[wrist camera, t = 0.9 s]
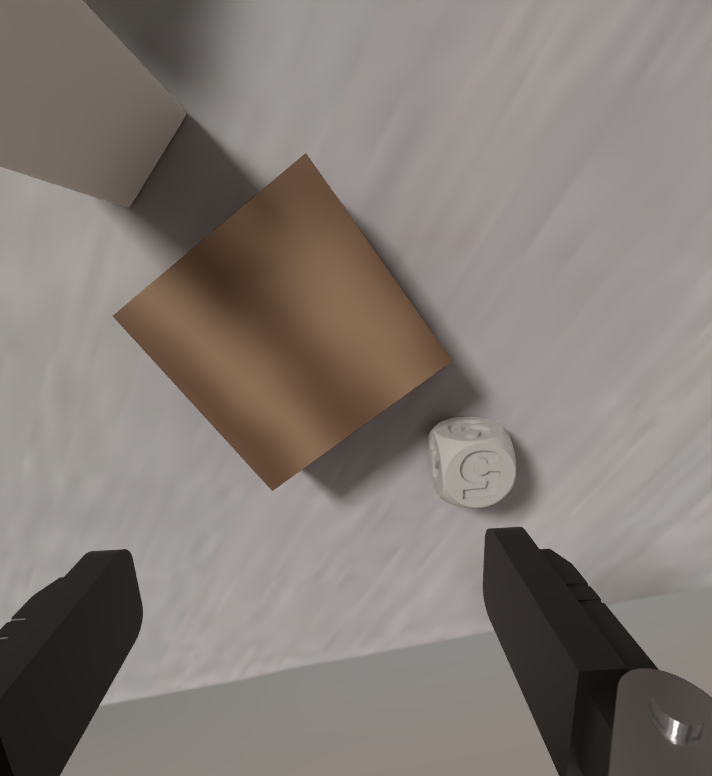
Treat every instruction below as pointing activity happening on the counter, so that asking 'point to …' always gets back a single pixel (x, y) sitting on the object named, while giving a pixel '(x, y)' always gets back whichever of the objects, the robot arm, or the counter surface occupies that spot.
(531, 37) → the counter surface
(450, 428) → the die
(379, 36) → the counter surface
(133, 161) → the milk carton
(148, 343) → the walnut block
